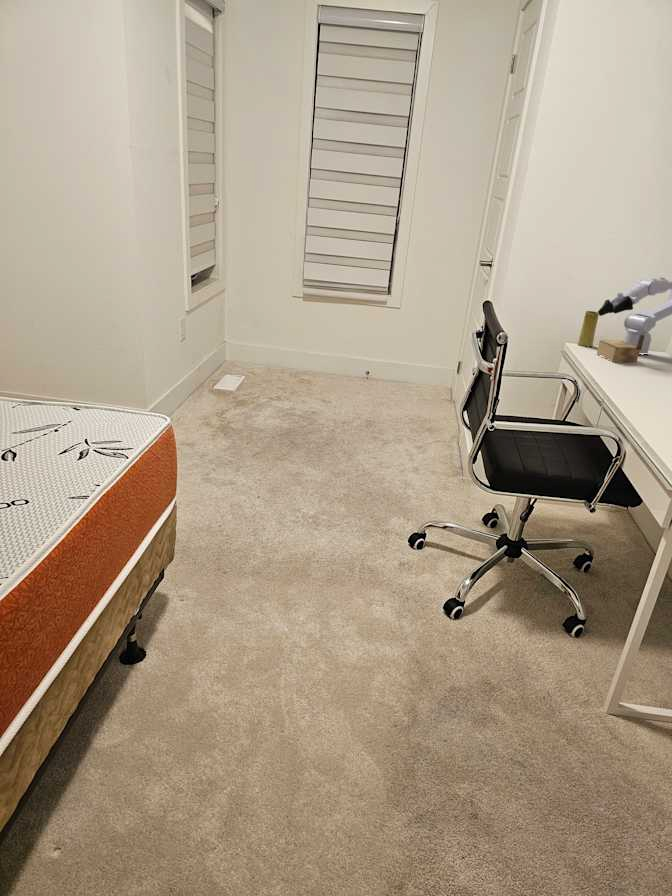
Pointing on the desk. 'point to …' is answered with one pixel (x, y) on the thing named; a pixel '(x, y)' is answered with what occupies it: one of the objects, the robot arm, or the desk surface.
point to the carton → (611, 347)
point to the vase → (588, 328)
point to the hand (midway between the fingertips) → (606, 312)
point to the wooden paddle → (628, 352)
